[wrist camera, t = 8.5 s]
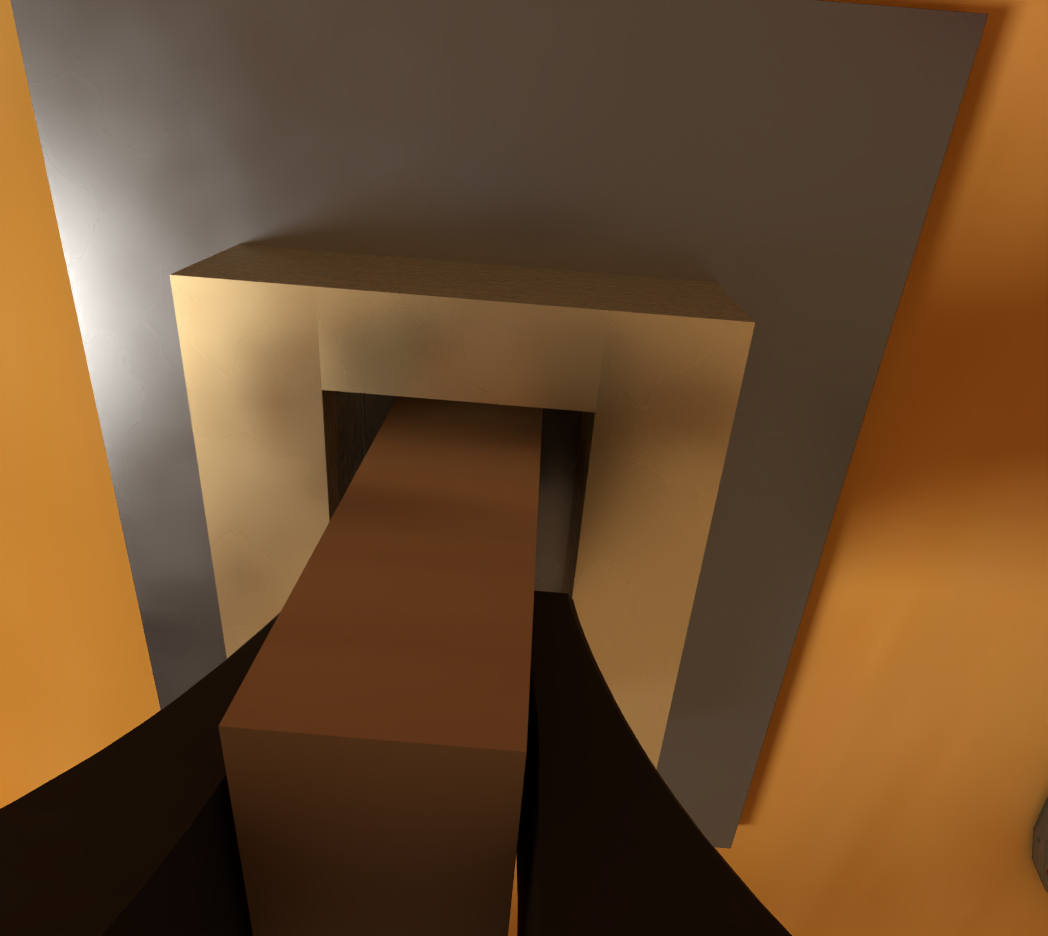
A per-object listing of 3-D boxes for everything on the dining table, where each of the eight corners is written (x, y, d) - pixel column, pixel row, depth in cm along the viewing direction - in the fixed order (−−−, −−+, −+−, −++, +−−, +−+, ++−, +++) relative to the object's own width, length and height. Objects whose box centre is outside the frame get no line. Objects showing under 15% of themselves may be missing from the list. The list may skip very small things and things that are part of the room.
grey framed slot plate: (725, 827, 19) (753, 947, 16) (191, 782, 19) (130, 894, 16) (966, 18, 11) (1104, -11, 8) (24, -57, 11) (-154, -111, 8)
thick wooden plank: (523, 616, 15) (493, 1069, 8) (405, 606, 15) (271, 1049, 8) (543, 395, 13) (527, 751, 6) (404, 383, 13) (218, 726, 6)
